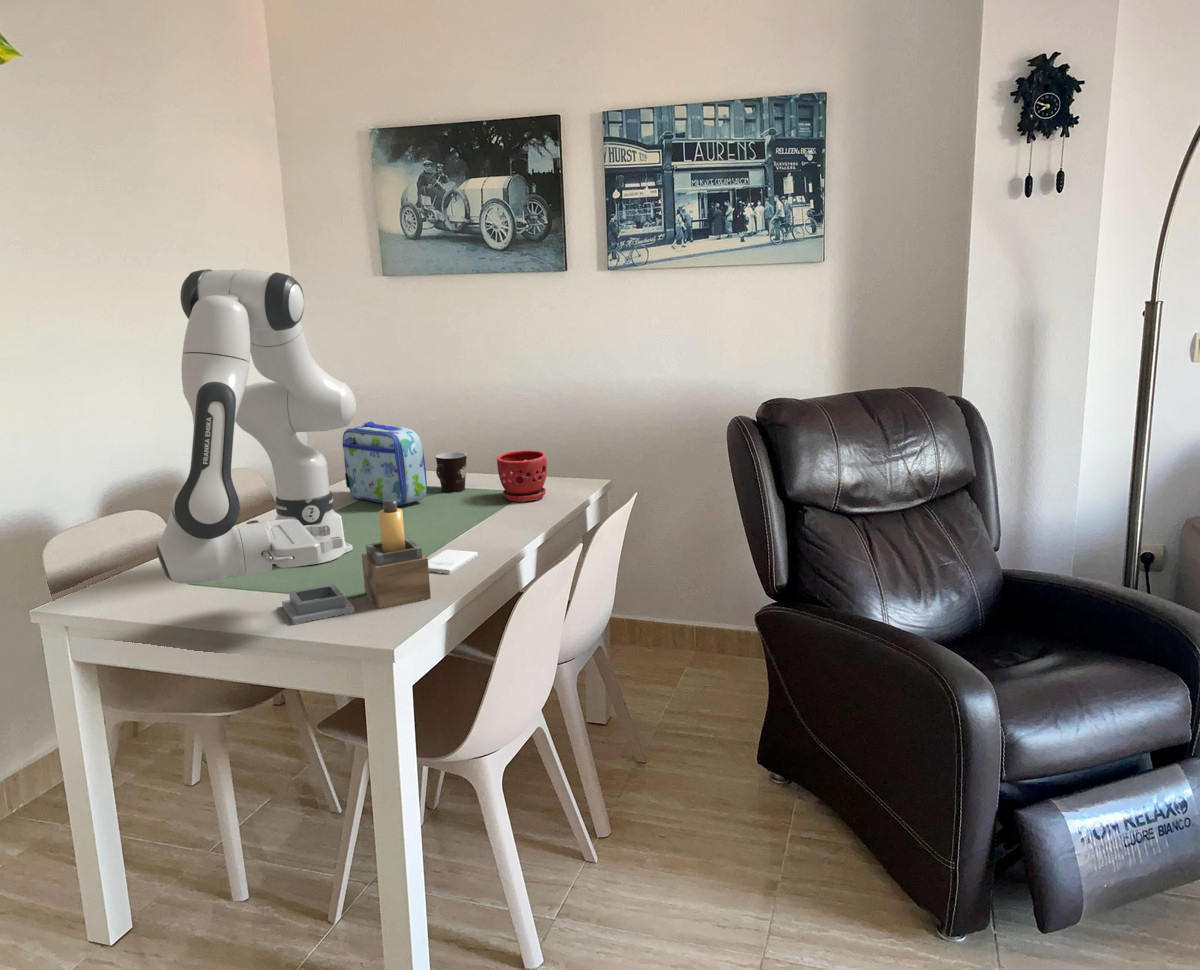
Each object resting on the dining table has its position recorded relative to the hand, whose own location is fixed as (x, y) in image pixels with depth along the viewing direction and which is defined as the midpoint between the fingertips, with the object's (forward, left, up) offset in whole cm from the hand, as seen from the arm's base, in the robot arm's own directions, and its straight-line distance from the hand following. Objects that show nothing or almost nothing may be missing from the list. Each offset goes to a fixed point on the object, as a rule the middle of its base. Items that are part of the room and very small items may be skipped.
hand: (335, 535), depth 179 cm
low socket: (-1, -4, -14) cm, 15 cm away
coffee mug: (-77, +49, -14) cm, 92 cm away
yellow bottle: (0, +11, -6) cm, 12 cm away
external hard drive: (-14, +26, -15) cm, 33 cm away
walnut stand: (0, +11, -14) cm, 18 cm away
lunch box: (-77, +31, -14) cm, 84 cm away
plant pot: (-57, +63, -14) cm, 86 cm away
